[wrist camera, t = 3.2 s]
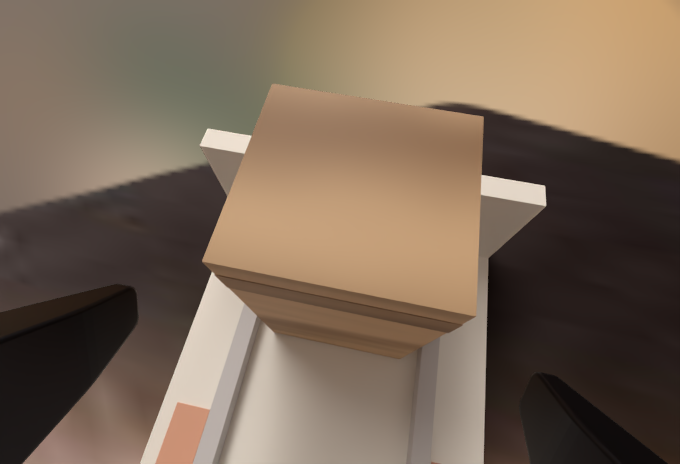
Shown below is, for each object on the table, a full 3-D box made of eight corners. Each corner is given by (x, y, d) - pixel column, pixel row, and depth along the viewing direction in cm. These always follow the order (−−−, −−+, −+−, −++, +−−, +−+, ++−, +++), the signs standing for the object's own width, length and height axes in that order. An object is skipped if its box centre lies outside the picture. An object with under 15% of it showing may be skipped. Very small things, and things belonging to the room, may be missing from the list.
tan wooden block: (400, 359, 17) (476, 317, 8) (273, 332, 18) (201, 262, 8) (413, 249, 20) (484, 116, 10) (302, 228, 20) (271, 83, 11)
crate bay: (471, 690, 13) (587, 940, 7) (100, 585, 14) (-72, 724, 8) (484, 246, 21) (545, 185, 15) (242, 201, 22) (207, 128, 16)
